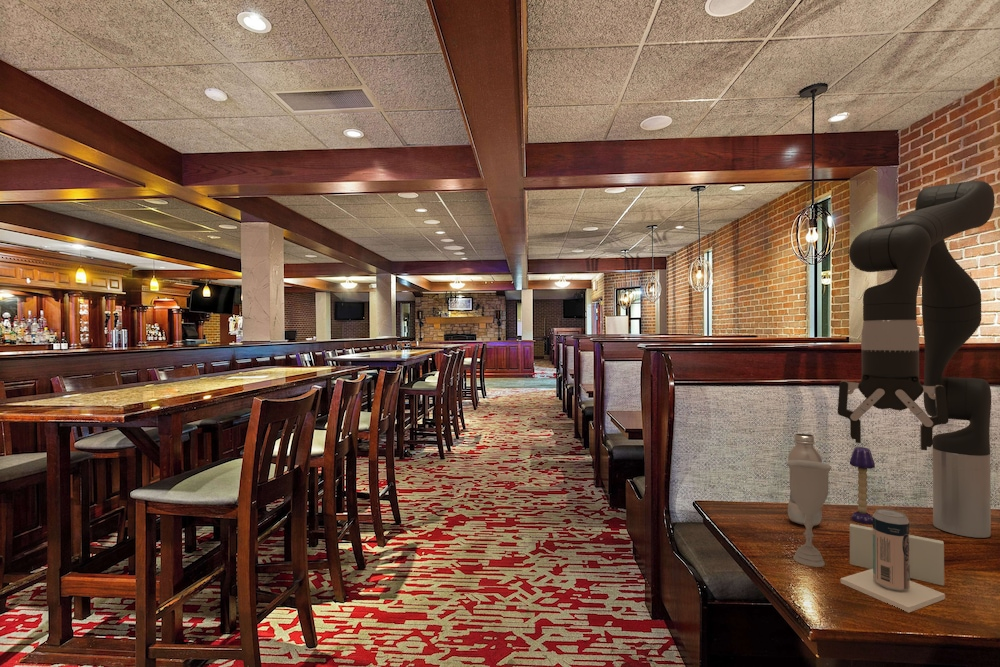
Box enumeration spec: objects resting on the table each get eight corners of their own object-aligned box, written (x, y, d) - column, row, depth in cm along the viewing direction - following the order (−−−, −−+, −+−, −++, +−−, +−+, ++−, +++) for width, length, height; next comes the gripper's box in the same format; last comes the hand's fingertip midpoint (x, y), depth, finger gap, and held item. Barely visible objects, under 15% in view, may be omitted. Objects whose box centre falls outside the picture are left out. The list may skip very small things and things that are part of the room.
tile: (876, 572, 88) (876, 567, 88) (945, 599, 79) (945, 593, 79) (840, 582, 84) (840, 578, 84) (908, 612, 75) (908, 607, 75)
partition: (849, 564, 91) (849, 526, 91) (850, 561, 93) (850, 523, 93) (944, 585, 83) (943, 544, 83) (943, 582, 85) (943, 541, 85)
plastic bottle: (782, 518, 115) (782, 431, 115) (813, 519, 114) (813, 432, 114) (794, 528, 108) (794, 437, 109) (828, 530, 108) (827, 438, 108)
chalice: (790, 565, 91) (790, 466, 91) (783, 550, 97) (782, 458, 97) (837, 571, 88) (836, 470, 89) (826, 556, 95) (826, 461, 95)
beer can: (916, 594, 79) (916, 519, 79) (882, 591, 80) (882, 516, 80) (899, 580, 84) (898, 508, 84) (867, 577, 85) (866, 506, 85)
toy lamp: (879, 525, 110) (879, 450, 111) (856, 524, 111) (856, 449, 111) (867, 517, 115) (867, 446, 115) (845, 516, 116) (845, 445, 116)
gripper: (836, 347, 83) (836, 444, 83) (949, 349, 75) (950, 456, 75) (838, 347, 89) (839, 437, 89) (944, 348, 81) (945, 447, 81)
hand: (890, 445), depth 82 cm, fingers open, 8 cm apart
